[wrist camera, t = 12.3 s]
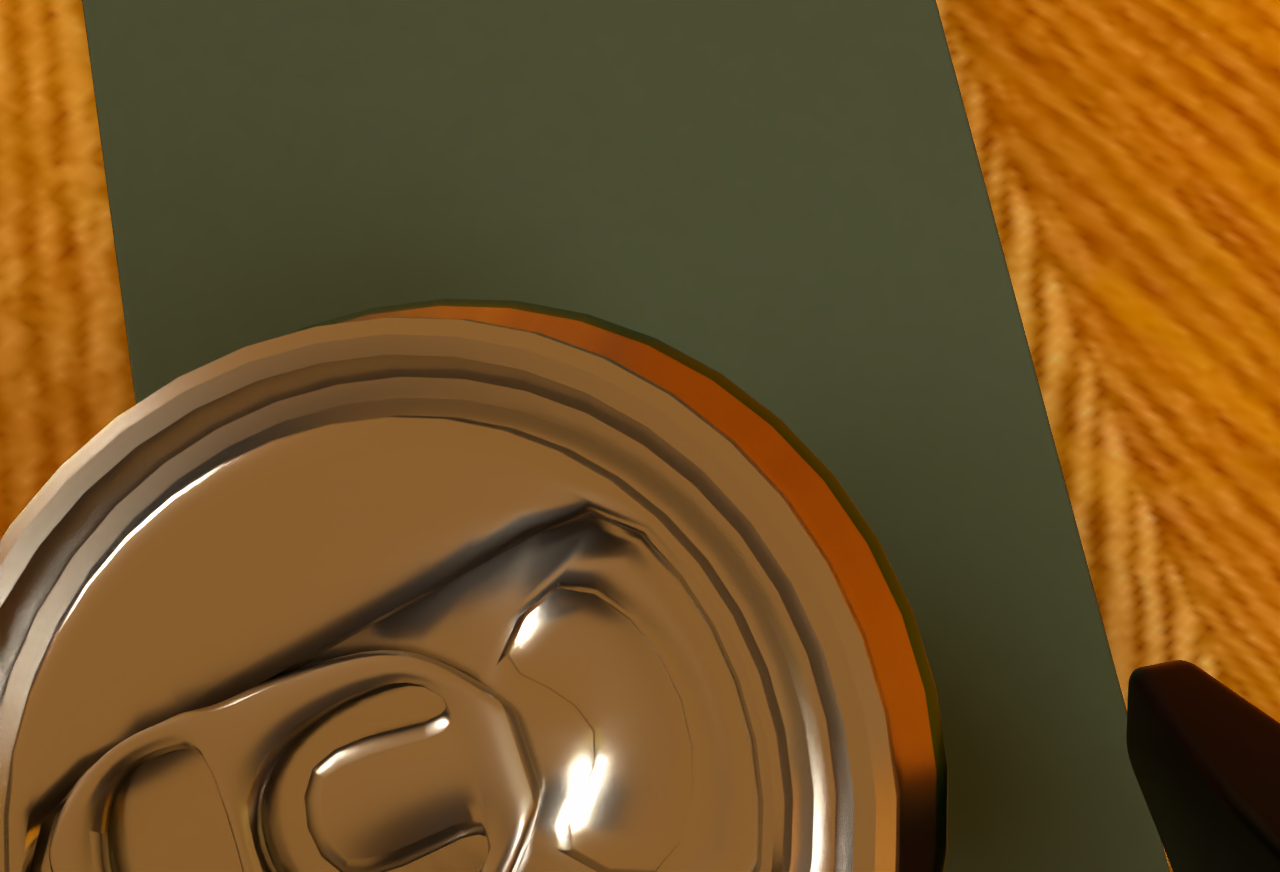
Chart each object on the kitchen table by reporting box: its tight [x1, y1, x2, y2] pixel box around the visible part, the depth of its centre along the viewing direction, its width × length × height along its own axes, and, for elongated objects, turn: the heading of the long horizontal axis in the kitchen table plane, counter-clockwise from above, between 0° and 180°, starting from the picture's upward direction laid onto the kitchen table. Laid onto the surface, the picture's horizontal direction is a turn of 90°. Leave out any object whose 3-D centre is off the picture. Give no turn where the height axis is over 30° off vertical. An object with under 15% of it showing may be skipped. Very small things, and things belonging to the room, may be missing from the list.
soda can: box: [0, 299, 948, 872], centre depth 11 cm, size 5×5×12 cm
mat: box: [82, 0, 1170, 872], centre depth 18 cm, size 22×13×1 cm, turn 12°
